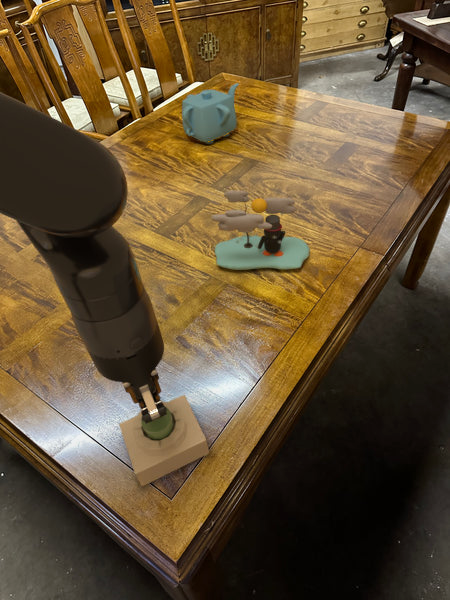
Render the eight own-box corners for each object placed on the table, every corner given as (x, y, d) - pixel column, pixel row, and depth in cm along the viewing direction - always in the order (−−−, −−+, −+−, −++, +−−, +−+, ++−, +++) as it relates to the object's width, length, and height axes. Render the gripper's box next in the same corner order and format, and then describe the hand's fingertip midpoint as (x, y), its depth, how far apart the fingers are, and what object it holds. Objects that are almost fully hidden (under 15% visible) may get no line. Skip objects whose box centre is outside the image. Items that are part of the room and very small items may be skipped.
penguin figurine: (309, 243, 90) (314, 179, 79) (308, 276, 83) (313, 210, 72) (218, 241, 93) (211, 179, 83) (210, 272, 86) (200, 209, 75)
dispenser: (142, 486, 56) (131, 467, 52) (126, 437, 62) (115, 416, 57) (209, 453, 59) (204, 432, 54) (188, 408, 64) (182, 386, 60)
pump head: (149, 445, 54) (146, 437, 53) (140, 420, 57) (137, 412, 56) (178, 431, 55) (175, 424, 54) (168, 408, 58) (165, 400, 57)
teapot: (231, 147, 126) (228, 101, 117) (179, 147, 129) (172, 102, 120) (241, 122, 138) (239, 79, 129) (193, 123, 142) (188, 80, 132)
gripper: (70, 299, 45) (114, 387, 58) (97, 391, 37) (142, 472, 49) (135, 275, 47) (165, 366, 60) (176, 357, 39) (201, 444, 51)
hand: (155, 414), depth 54 cm, fingers closed
